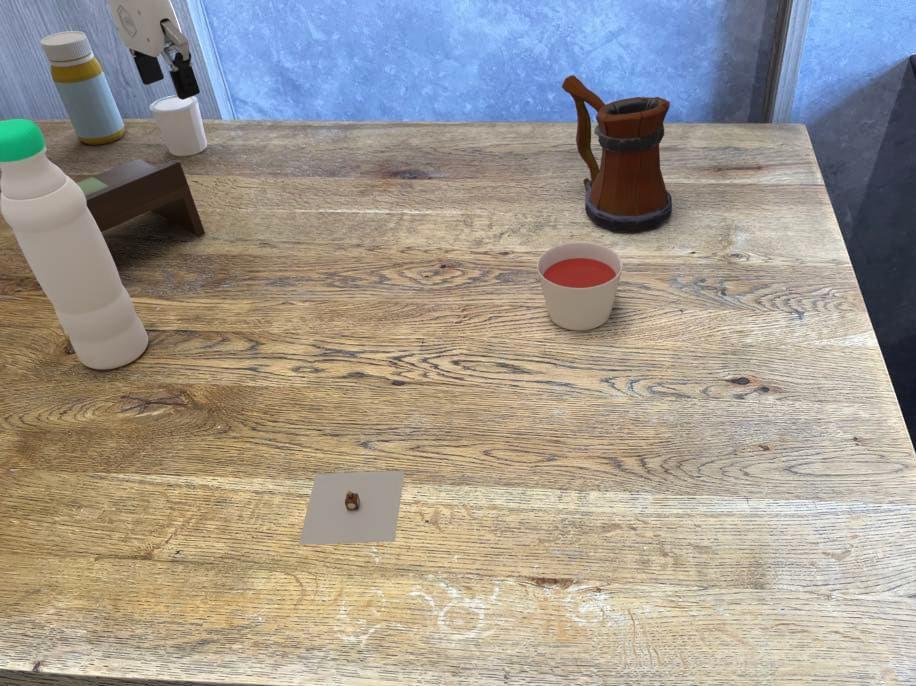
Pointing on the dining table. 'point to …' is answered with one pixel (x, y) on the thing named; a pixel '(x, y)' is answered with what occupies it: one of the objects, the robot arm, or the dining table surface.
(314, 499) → the grey flat square
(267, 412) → the dining table surface
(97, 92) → the bottle
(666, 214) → the mug
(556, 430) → the dining table surface
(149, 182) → the shelf
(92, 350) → the water bottle
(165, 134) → the shot glass
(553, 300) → the candle
